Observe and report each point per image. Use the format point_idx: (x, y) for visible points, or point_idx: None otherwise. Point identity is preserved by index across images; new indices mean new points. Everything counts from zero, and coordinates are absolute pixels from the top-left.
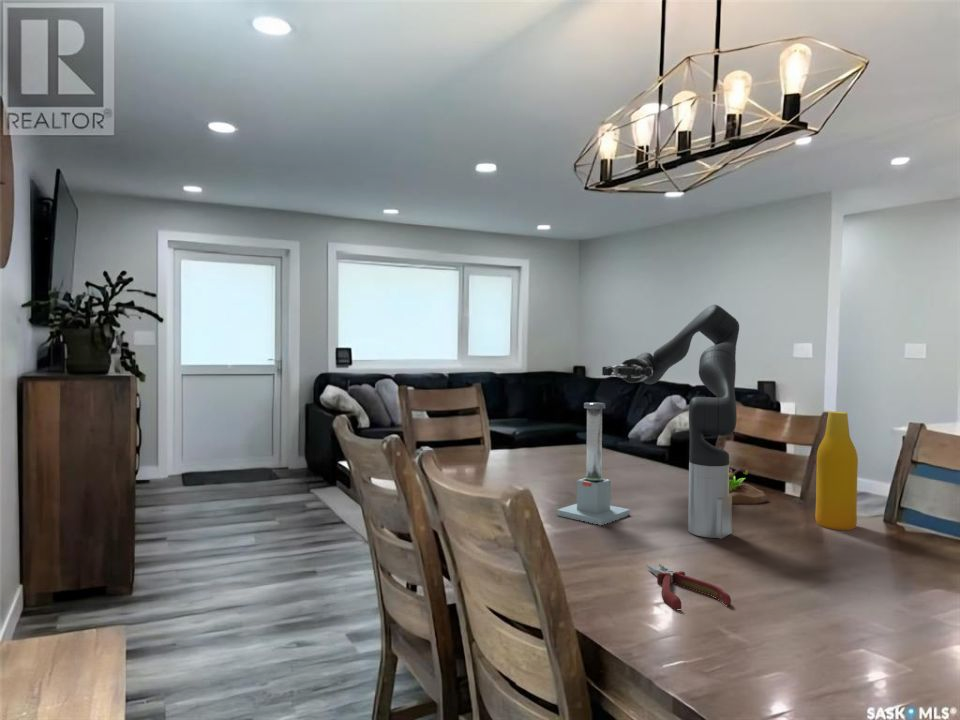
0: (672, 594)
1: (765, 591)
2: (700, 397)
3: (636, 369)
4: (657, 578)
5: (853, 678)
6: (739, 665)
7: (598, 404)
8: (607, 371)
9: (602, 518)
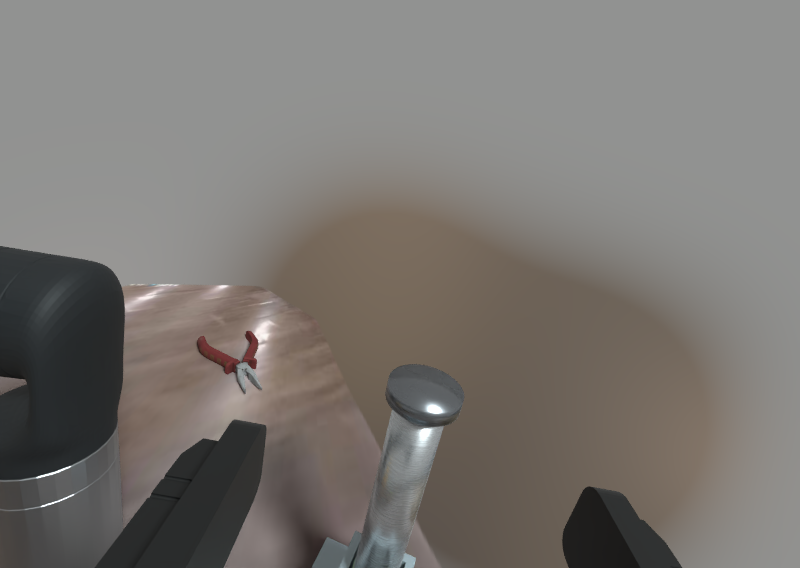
0: (251, 334)
1: (141, 365)
2: (68, 259)
3: (244, 422)
4: (256, 363)
5: (164, 296)
6: (228, 302)
7: (403, 365)
8: (578, 507)
9: (327, 549)
